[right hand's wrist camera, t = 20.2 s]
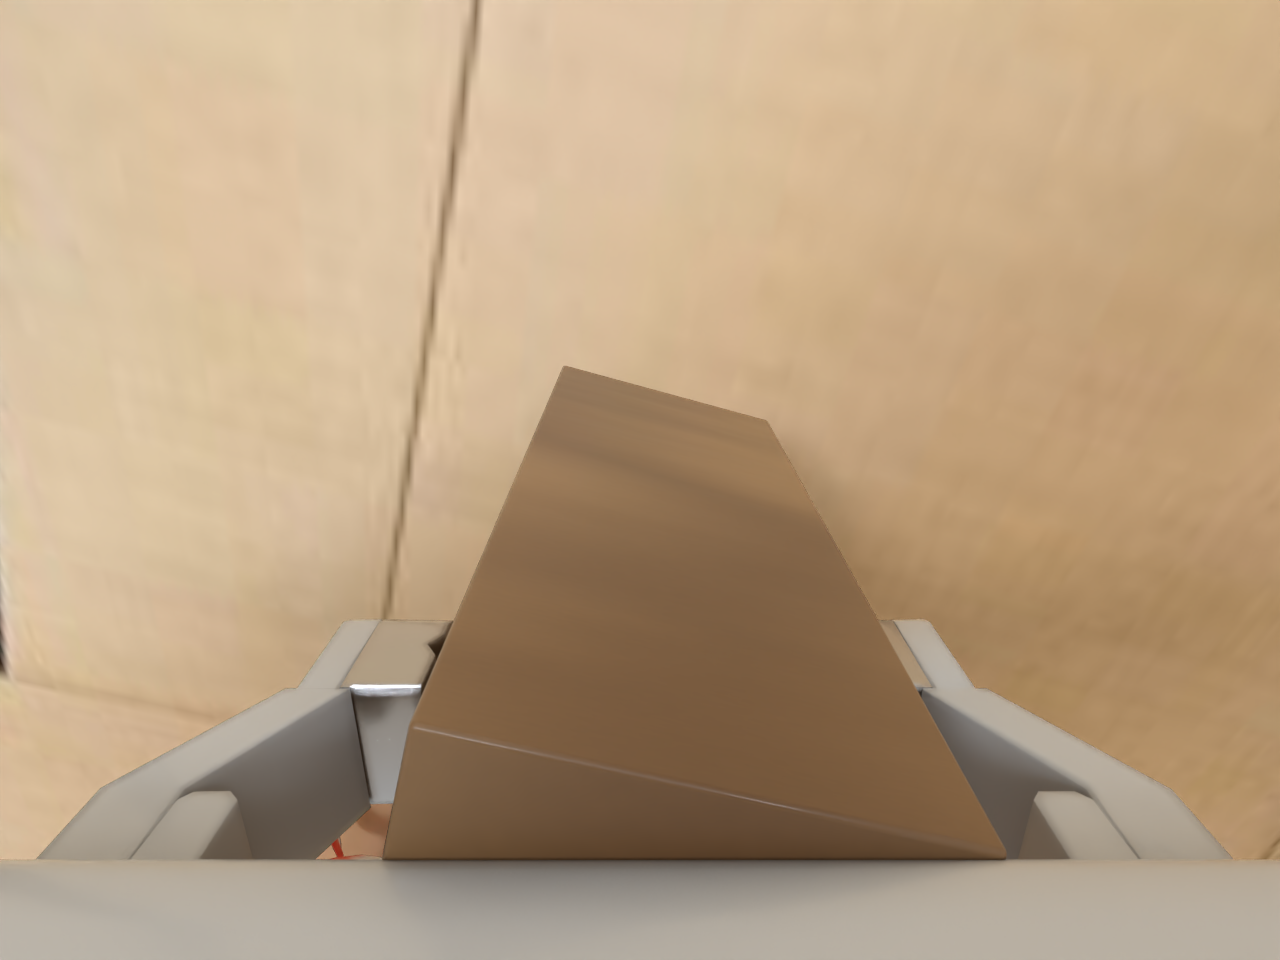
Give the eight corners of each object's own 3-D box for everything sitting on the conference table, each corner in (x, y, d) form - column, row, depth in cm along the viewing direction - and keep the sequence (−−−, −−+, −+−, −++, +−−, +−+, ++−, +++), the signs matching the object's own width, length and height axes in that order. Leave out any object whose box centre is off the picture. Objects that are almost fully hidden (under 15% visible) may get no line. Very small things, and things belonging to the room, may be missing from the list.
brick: (513, 567, 17) (323, 1142, 7) (563, 364, 15) (407, 723, 5) (698, 612, 17) (785, 1215, 7) (768, 420, 16) (1012, 855, 5)
